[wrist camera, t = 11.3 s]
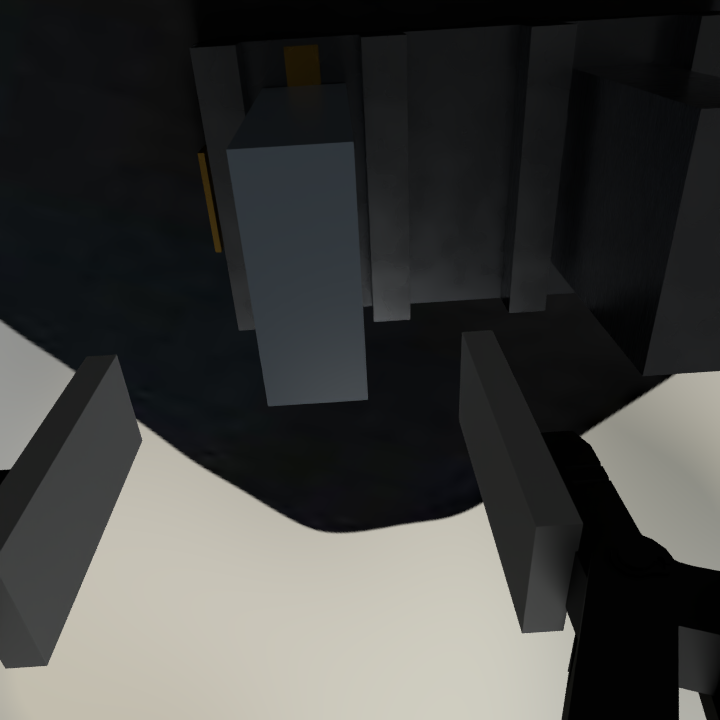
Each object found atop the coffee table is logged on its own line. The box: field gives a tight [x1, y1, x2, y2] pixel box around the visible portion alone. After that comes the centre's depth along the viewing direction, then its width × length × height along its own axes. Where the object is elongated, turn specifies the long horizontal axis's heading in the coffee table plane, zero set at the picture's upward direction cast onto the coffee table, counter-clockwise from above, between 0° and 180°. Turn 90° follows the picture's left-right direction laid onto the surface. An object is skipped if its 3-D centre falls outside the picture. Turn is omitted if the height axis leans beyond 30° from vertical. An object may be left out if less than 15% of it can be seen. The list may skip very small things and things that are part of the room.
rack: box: [190, 11, 720, 376], centre depth 28 cm, size 14×25×14 cm, turn 93°
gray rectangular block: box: [226, 83, 368, 406], centre depth 27 cm, size 10×4×12 cm, turn 3°
